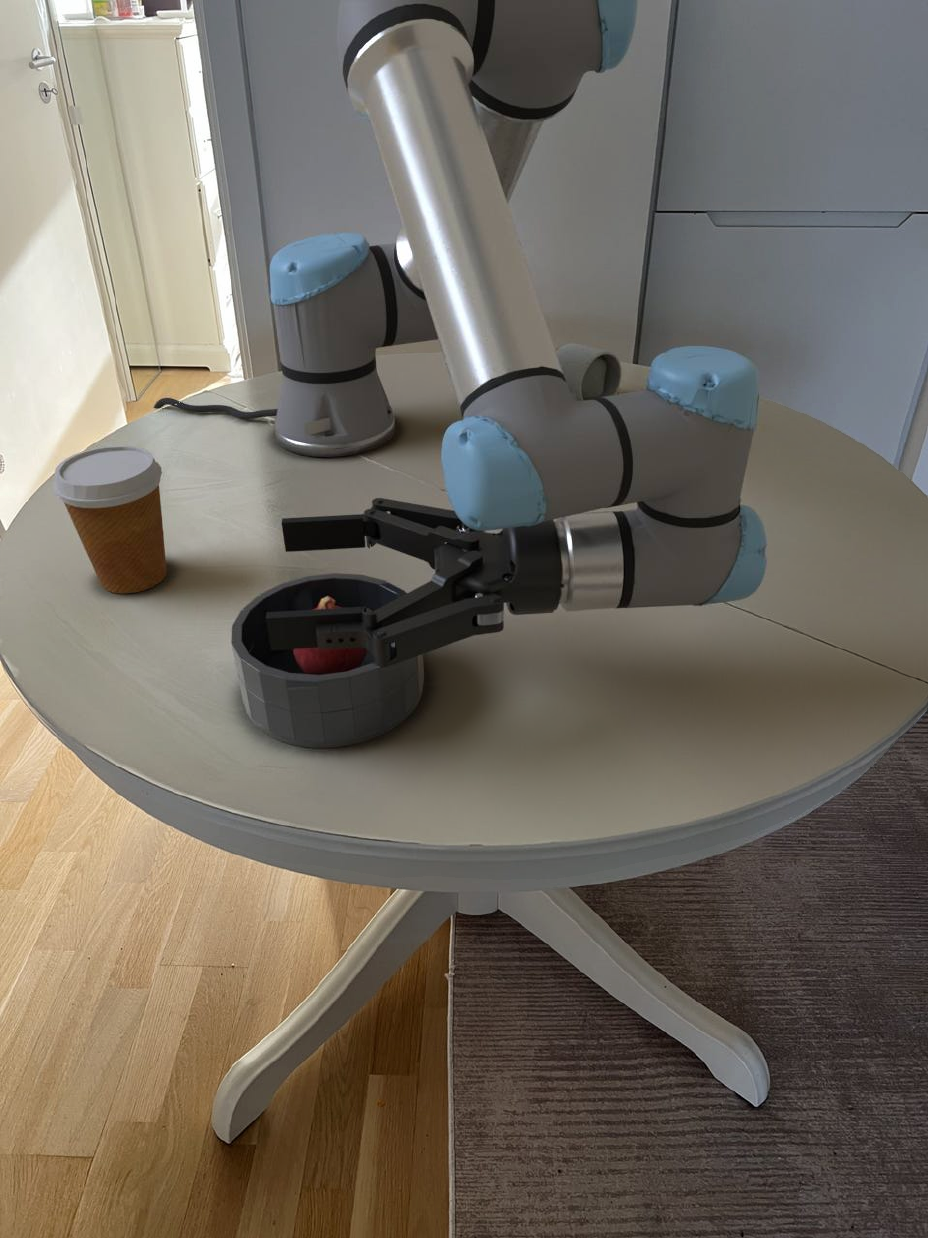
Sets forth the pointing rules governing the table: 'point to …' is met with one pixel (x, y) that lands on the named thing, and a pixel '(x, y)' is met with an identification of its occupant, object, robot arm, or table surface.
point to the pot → (329, 701)
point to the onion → (329, 654)
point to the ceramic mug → (589, 371)
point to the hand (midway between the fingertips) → (276, 579)
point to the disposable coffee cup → (116, 514)
